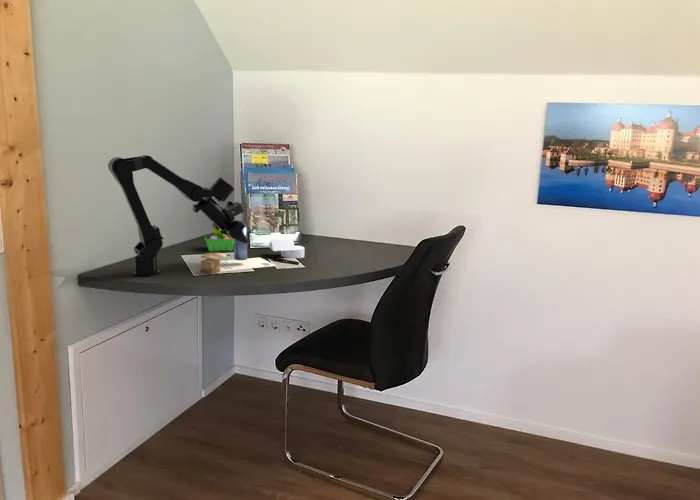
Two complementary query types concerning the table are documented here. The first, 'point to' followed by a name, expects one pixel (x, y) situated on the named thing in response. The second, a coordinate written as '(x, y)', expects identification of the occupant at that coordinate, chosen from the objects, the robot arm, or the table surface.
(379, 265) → the table surface
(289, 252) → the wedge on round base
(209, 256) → the coaster
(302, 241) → the table surface
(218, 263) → the cube
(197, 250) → the table surface
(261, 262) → the letter
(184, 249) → the table surface
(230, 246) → the fruit basket
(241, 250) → the flask
